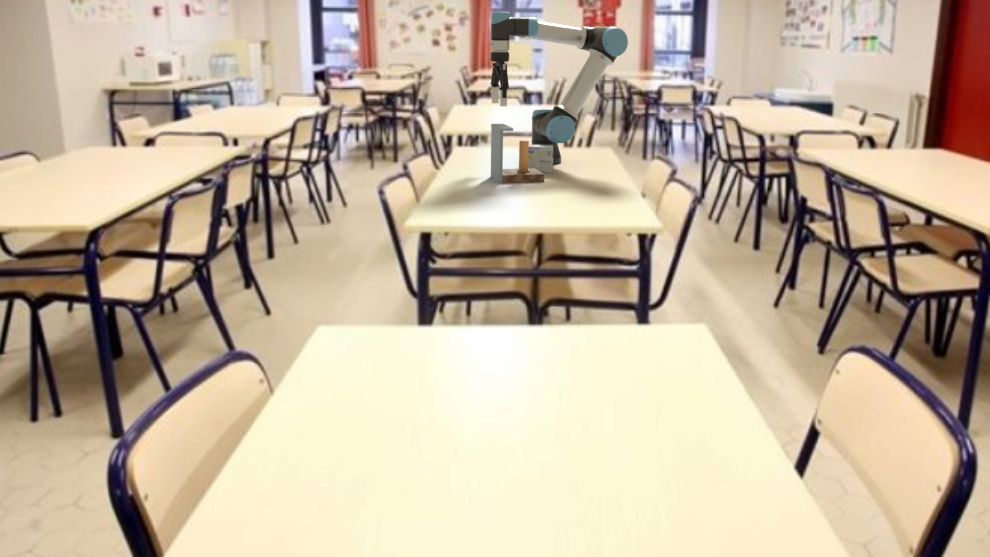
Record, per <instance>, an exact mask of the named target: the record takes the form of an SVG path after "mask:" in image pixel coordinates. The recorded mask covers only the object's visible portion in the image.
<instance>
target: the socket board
mask: <svg viewBox="0 0 990 557" xmlns="http://www.w3.org/2000/svg"><path fill="white" fill-rule="evenodd" d="M514 183H515V184H517V183H520V184H522V183H545V173H544V172H540V171H538V170H536V169H535V168H528V173H519V168H503V172H502V183H501V184H514Z"/></svg>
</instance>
